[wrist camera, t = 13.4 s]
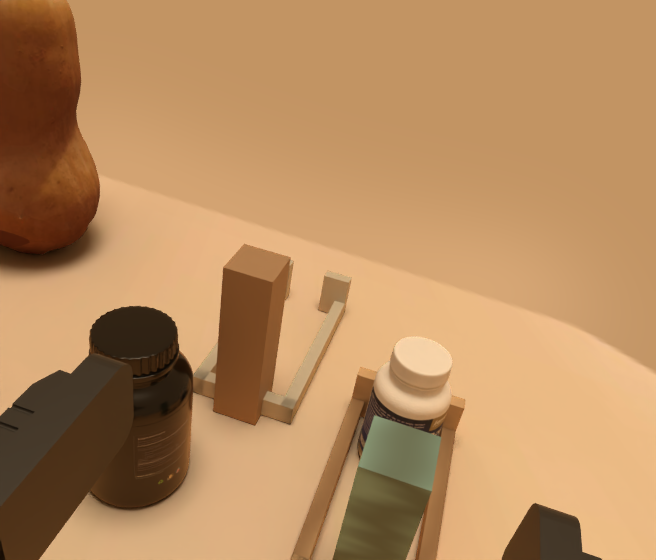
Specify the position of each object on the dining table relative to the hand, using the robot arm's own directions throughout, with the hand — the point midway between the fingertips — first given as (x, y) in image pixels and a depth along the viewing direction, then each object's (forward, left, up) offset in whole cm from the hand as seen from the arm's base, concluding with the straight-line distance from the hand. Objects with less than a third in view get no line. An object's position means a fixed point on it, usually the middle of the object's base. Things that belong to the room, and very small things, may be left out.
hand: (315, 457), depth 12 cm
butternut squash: (-38, +36, -26) cm, 58 cm away
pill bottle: (+2, +24, -26) cm, 35 cm away
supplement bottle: (-14, +16, -26) cm, 33 cm away
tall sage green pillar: (+2, +20, -25) cm, 32 cm away
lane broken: (-10, +32, -25) cm, 42 cm away
